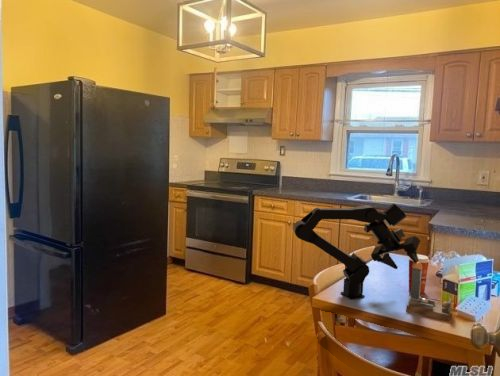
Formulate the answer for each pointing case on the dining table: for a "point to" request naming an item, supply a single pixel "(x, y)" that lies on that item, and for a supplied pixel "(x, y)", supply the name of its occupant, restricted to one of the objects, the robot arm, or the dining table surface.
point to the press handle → (417, 283)
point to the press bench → (431, 309)
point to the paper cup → (424, 261)
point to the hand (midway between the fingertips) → (407, 266)
